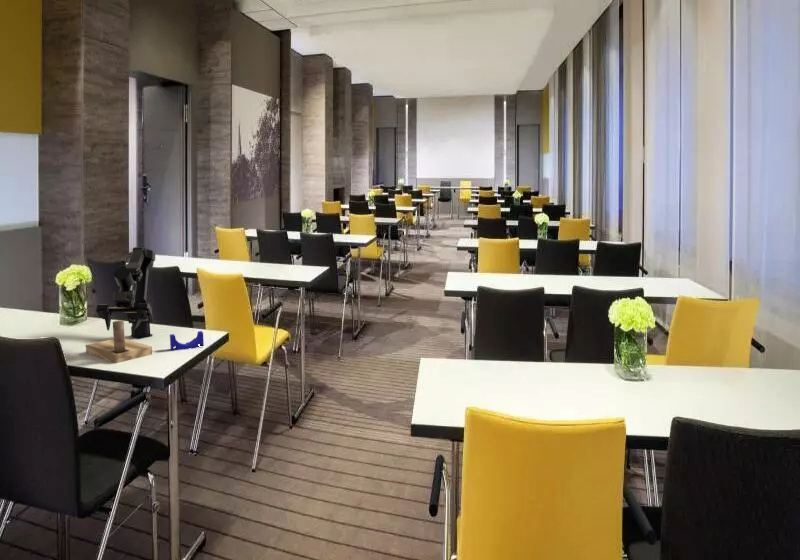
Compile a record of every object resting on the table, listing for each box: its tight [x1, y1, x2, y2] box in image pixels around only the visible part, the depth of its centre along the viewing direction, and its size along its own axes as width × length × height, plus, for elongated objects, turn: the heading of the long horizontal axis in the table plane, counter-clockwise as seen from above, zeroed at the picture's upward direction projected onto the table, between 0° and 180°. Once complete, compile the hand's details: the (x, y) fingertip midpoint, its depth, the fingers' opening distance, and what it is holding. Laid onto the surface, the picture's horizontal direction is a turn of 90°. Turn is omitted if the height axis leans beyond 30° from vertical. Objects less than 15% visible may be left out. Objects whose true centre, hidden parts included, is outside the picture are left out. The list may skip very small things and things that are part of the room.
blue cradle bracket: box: [169, 330, 205, 351], centre depth 228 cm, size 12×4×6 cm, turn 120°
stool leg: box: [112, 320, 126, 354], centre depth 211 cm, size 4×4×14 cm
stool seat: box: [85, 338, 153, 364], centre depth 219 cm, size 14×22×3 cm, turn 54°
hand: (121, 329), depth 214 cm, fingers open, 9 cm apart
